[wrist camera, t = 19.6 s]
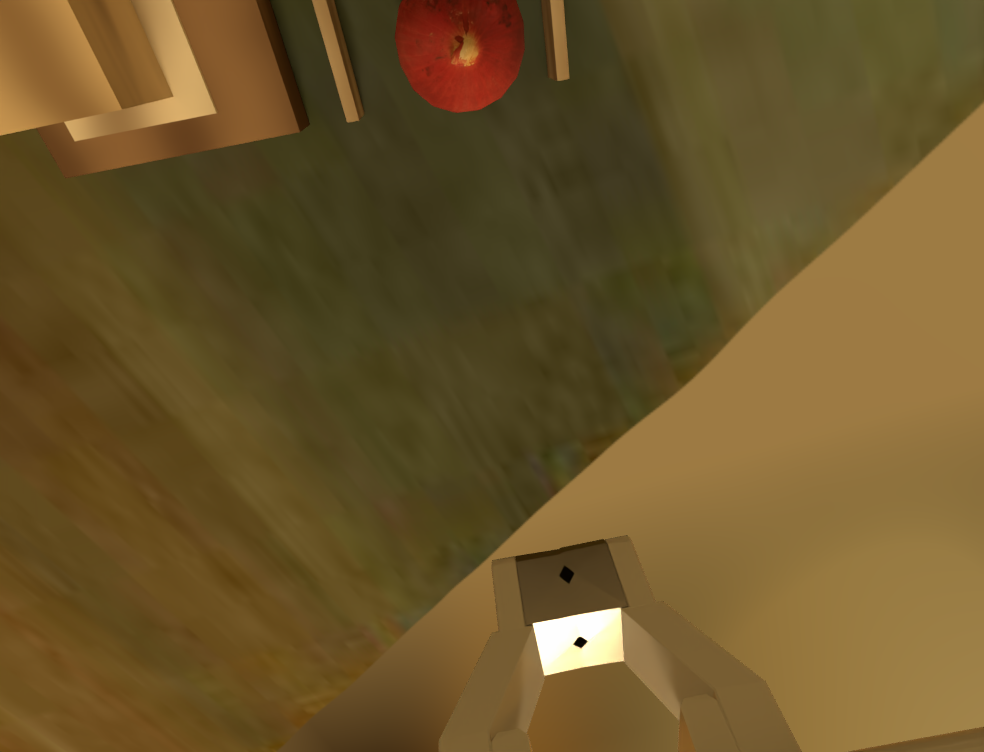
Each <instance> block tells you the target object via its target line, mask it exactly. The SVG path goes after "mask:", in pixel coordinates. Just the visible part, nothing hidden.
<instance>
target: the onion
mask: <svg viewBox="0 0 984 752" xmlns="http://www.w3.org/2000/svg"><path fill="white" fill-rule="evenodd" d="M395 40H396V46H397V51H398V56H399V61H400V65H401V67H402V69H403V71H404V73H405V75H406V76H407V78H408V80H409V82H410V84H411V86H412V88H413V90H414V91H415V92H417V93H418V94H419V95H420V96H422V97H423V98H424V99H425V100H426V101H428V102H429V103H430V104H431V105H432V106H434V107H438V108H441V109H445V110H448V111H452V112H455V113H458V112H466V111H474V110H480V109H482V108H483V107H485V106H487V105H489V104H491V103H492V102H494V101H496V100H498V99H500V98H501V97H502V96H503V94H504V93H505V92H506V91H507V89H508V88H509V87H510V85H511V84H512V83H513V81H514V80H515V79H516V78H517V75H518V72H519V68H520V65H521V61H522V57H523V54H524V50H525V46H524V23H523V19H522V16H521V13H520V10H519V7H518V4H517V1H516V0H402V2H401V4H400V6H399V10H398V17H397V24H396V32H395Z"/></svg>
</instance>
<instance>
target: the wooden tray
mask: <svg viewBox="0 0 984 752" xmlns="http://www.w3.org/2000/svg"><path fill="white" fill-rule="evenodd" d="M312 1H313V5H314V8H315V12H316V15H317V19H318V22H319V26H320V29H321V33H322V36H323V40H324V43H325V47H326V50H327V54H328V57H329V61H330V64H331V68H332V71H333V75H334V78H335V82H336V85H337V89H338V92H339V95H340V99H341V102H342V106H343V109H344V113H345V116H346V120H347V123H348V122H353V121H358V120H360V119H361V118H362V116H363V115H364V110H363V106H362V103H361V99H360V95H359V91H358V88H357V84H356V80H355V76H354V73H353V69H352V65H351V62H350V58H349V54H348V50H347V47H346V43H345V39H344V36H343V32H342V28H341V24H340V21H339V17H338V13H337V10H336V6H335V2H334V0H312ZM131 3H132V5H133V7H134V9H135V12H136V14H137V16H138V18H139V20H140V23H141V25H142V27H143V29H144V32H145V34H146V36H147V38H148V41H149V43H150V45H151V47H152V49H153V52H154V54H155V56H156V58H157V61H158V63H159V65H160V67H161V69H162V72H163V74H164V76H165V78H166V81H167V83H168V85H169V87H170V90H171V92H172V94H173V96H174V97H171V98H167V99H163V100H159V101H155V102H151V103H147V104H143V105H139V106H134V107H130V108H126V109H122V110H118V111H113V112H108V113H104V114H99V115H94V116H89V117H85V118H80V119H75V120H71V121H66V122H61V123H56V124H52V125H47V126H42V127H38V128H36V129H37V130H38V132H39V134H40V136H41V137H42V139H43V141H44V142H45V144H46V146H47V148H48V149H49V151H50V153H51V155H52V156H53V158H54V160H55V161H56V163H57V165H58V167H59V168H60V170H61V172H62V173H63V175H64V177H65V178H70V177H75V176H80V175H85V174H90V173H95V172H100V171H105V170H110V169H115V168H120V167H125V166H130V165H135V164H140V163H145V162H151V161H156V160H161V159H166V158H171V157H176V156H181V155H186V154H191V153H196V152H201V151H206V150H211V149H216V148H221V147H226V146H232V145H237V144H242V143H247V142H252V141H257V140H262V139H267V138H272V137H277V136H282V135H287V134H292V133H297V132H301V131H302V130H303V129H305V128H306V127H307V126H309V125H310V124H309V121H308V118H307V115H306V112H305V108H304V105H303V102H302V99H301V96H300V93H299V90H298V87H297V84H296V81H295V78H294V74H293V71H292V68H291V65H290V62H289V59H288V56H287V53H286V50H285V47H284V43H283V40H282V37H281V34H280V31H279V28H278V25H277V22H276V19H275V16H274V12H273V9H272V6H271V3H270V0H131ZM541 6H542V16H543V26H544V37H545V47H546V58H547V68H548V78H551V79H553V80H556V81H561V80H566V79H569V67H568V54H567V41H566V28H565V15H564V2H563V0H541Z"/></svg>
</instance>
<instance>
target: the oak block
mask: <svg viewBox="0 0 984 752" xmlns="http://www.w3.org/2000/svg"><path fill="white" fill-rule="evenodd" d="M171 97H174V96H173V94H172V92H171V90H170V87H169V85H168V83H167V81H166V78H165V76H164V74H163V72H162V69H161V67H160V65H159V63H158V61H157V58H156V56H155V54H154V52H153V49H152V47H151V45H150V43H149V41H148V38H147V36H146V34H145V32H144V29H143V27H142V25H141V23H140V20H139V18H138V16H137V14H136V12H135V9H134V7H133V5H132V3H131V0H0V135H5V134H9V133H14V132H19V131H24V130H28V129H33V128H38V127H42V126H47V125H52V124H56V123H61V122H66V121H71V120H75V119H80V118H85V117H89V116H94V115H99V114H104V113H108V112H113V111H118V110H122V109H126V108H130V107H134V106H139V105H143V104H147V103H151V102H155V101H159V100H163V99H167V98H171Z"/></svg>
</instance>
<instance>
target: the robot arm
mask: <svg viewBox="0 0 984 752" xmlns="http://www.w3.org/2000/svg"><path fill="white" fill-rule="evenodd" d="M515 558H516V559H515ZM492 576H493V585H494V594H495V602H496V611H497V620H498V629H499V631H498V632H494V633H492V634H491V636H490V638H489V640H488V642H487V644H486V646H485V648H484V650H483V652H482V654H481V656H480V658H479V660H478V662H477V665H476V666H475V668H474V671H473V673H472V674H471V677H470V679H469V681H468V683H467V685H466V687H465V689H464V691H463V693H462V695H461V697H460V699H459V701H458V703H457V705H456V707H455V709H454V711H453V713H452V716H451V717H450V720H449V721H448V724H447V725H446V728H445V730H444V732H443V734H442V736H441V738H440V740H439V752H533V751H532V747H531V744H530V740H529V736H528V734H527V730H528V727H529V724H530V721H531V718H532V715H533V712H534V709H535V706H536V703H537V700H538V697H539V694H540V691H541V688H542V685H543V682H544V679H545V677H544V675H548V674H552V673H557V672H562V671H567V670H572V669H576V668H581V667H586V666H593V665H599V664H605V663H612V662H618V661H625V664H626V665H627V666H628V667H629V668H630V669H631V670H632V671H633V672H634V673H635V674H636V675H637V676H638V677H639V679H640V680H641V681H642V682H643V683H644V684H645V685H646V686H647V687H648V688H649V689H650V690H651V691H652V692H653V693H654V694H655V695H656V697H657V698H658V699H659V700H660V701H661V702H662V703H663V704H664V705H665V706H666V707H667V708H668V709H669V710H670V711H671V713H672V714H673V715H674V716H675V717H676V718H677V719H678V720H679V737H678V738H679V739H678V752H802V751H801V749H800V747H799V745H798V744H797V742H796V740H795V738H794V736H793V734H792V732H791V730H790V728H789V726H788V724H787V723H786V720H785V718H784V717H783V715H782V712H781V711H780V709H779V707H778V705H777V703H776V701H775V699H774V697H773V695H772V693H771V691H770V689H769V687H768V685H767V683H766V682H765V681H764V680H763V679H762V678H761V677H759V676H758V675H756V674H755V673H754V672H753V671H752V670H750V669H749V668H748V667H747V666H745V665H744V664H743V663H741V662H740V661H739V660H738V659H736V658H735V657H734V656H733V655H731V654H730V653H729V652H727V651H726V650H725V649H724V648H722V647H721V646H720V645H718V644H717V643H716V642H715V641H713V640H712V639H711V638H710V637H708V636H707V635H706V634H704V633H703V632H702V631H701V630H699V629H698V628H697V627H695V626H694V625H693V624H692V623H691V622H689V621H688V620H687V619H685V618H684V617H683V616H682V615H680V614H679V613H678V612H677V611H675V610H674V609H673V608H671V607H670V606H669V605H668V604H666V603H665V602H664V601H660V602H656V601H655V598H654V596H653V593H652V591H651V588H650V586H649V583H648V581H647V578H646V576H645V573H644V571H643V568H642V565H641V563H640V561H639V558H638V555H637V553H636V550H635V548H634V545H633V543H632V540H631V539H630V537H628V536H627V535H626V536H620V537H615V538H610V539H605V540H604V539H602V540H597V541H592V542H587V543H582V544H577V545H572V546H568V547H562V548H560V549H557V550H551V551H545V552H538V553H533V554H526V555H520V556H513V557H508V558H503V559H497V560H492ZM848 752H984V727H980V728H974V729H969V730H963V731H958V732H953V733H947V734H942V735H936V736H931V737H925V738H919V739H914V740H909V741H903V742H898V743H892V744H887V745H881V746H876V747H870V748H865V749H859V750H854V751H848Z"/></svg>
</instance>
